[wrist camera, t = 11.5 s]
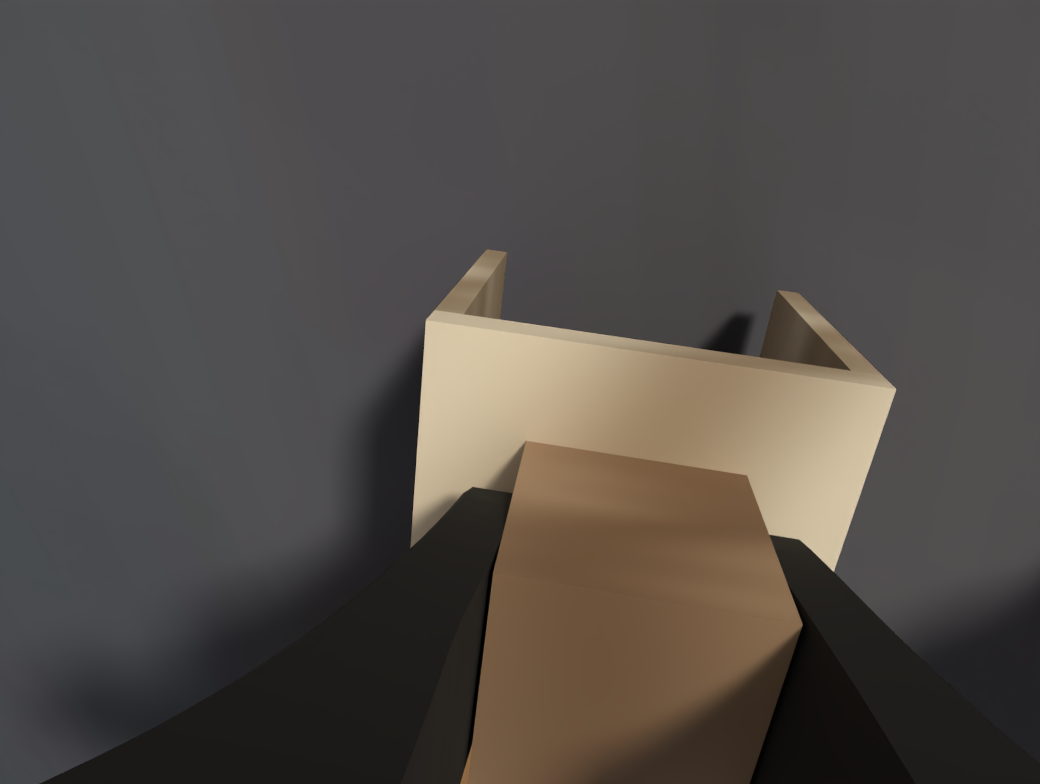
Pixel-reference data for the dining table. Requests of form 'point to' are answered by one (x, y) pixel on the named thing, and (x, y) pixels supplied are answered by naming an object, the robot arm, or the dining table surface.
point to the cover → (638, 528)
